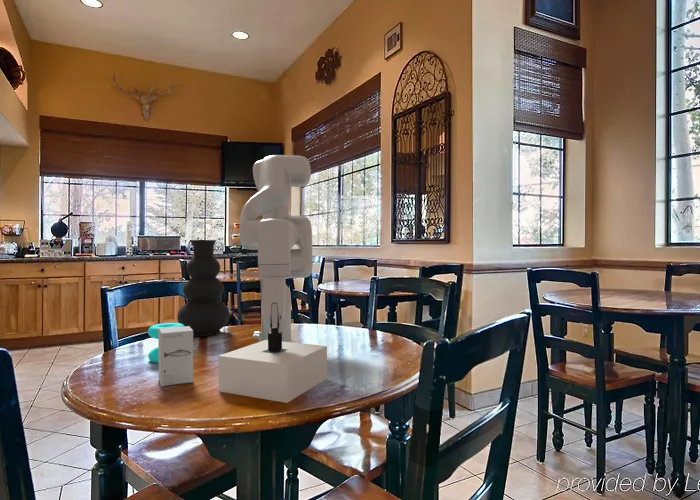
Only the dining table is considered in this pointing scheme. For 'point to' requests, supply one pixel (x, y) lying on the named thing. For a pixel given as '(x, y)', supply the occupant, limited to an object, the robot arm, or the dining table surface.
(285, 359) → the block
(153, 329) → the donuts
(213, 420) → the dining table surface
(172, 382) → the supplement box
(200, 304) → the vase
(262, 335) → the robot arm
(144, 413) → the dining table surface
